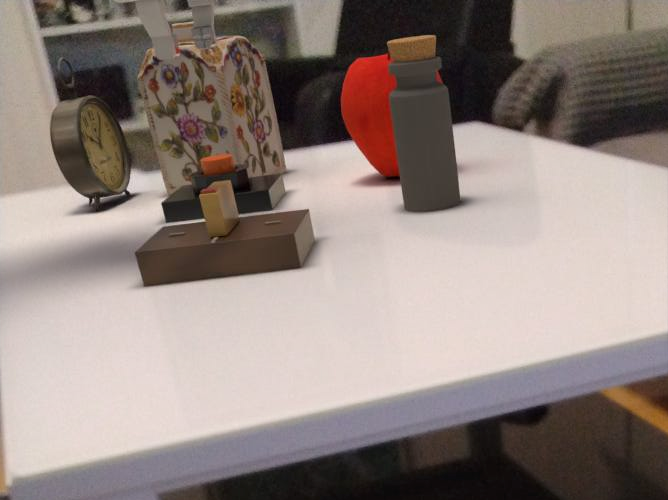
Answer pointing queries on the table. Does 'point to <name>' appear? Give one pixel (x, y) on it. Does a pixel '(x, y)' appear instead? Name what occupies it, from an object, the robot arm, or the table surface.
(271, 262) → the plate
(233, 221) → the tan rectangular block
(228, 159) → the bell button
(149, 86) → the decorative jar
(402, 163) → the bottle
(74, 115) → the alarm clock
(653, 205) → the table surface
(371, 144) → the apple
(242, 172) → the button base
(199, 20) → the robot arm
